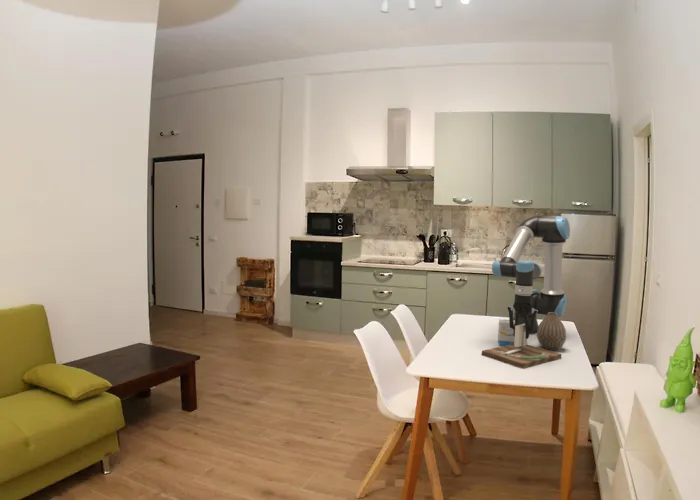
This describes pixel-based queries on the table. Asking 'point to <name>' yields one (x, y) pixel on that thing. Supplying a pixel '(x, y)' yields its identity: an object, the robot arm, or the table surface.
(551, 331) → the vase
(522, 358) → the board
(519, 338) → the cream dial pointer
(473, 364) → the table surface
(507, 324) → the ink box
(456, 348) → the table surface
